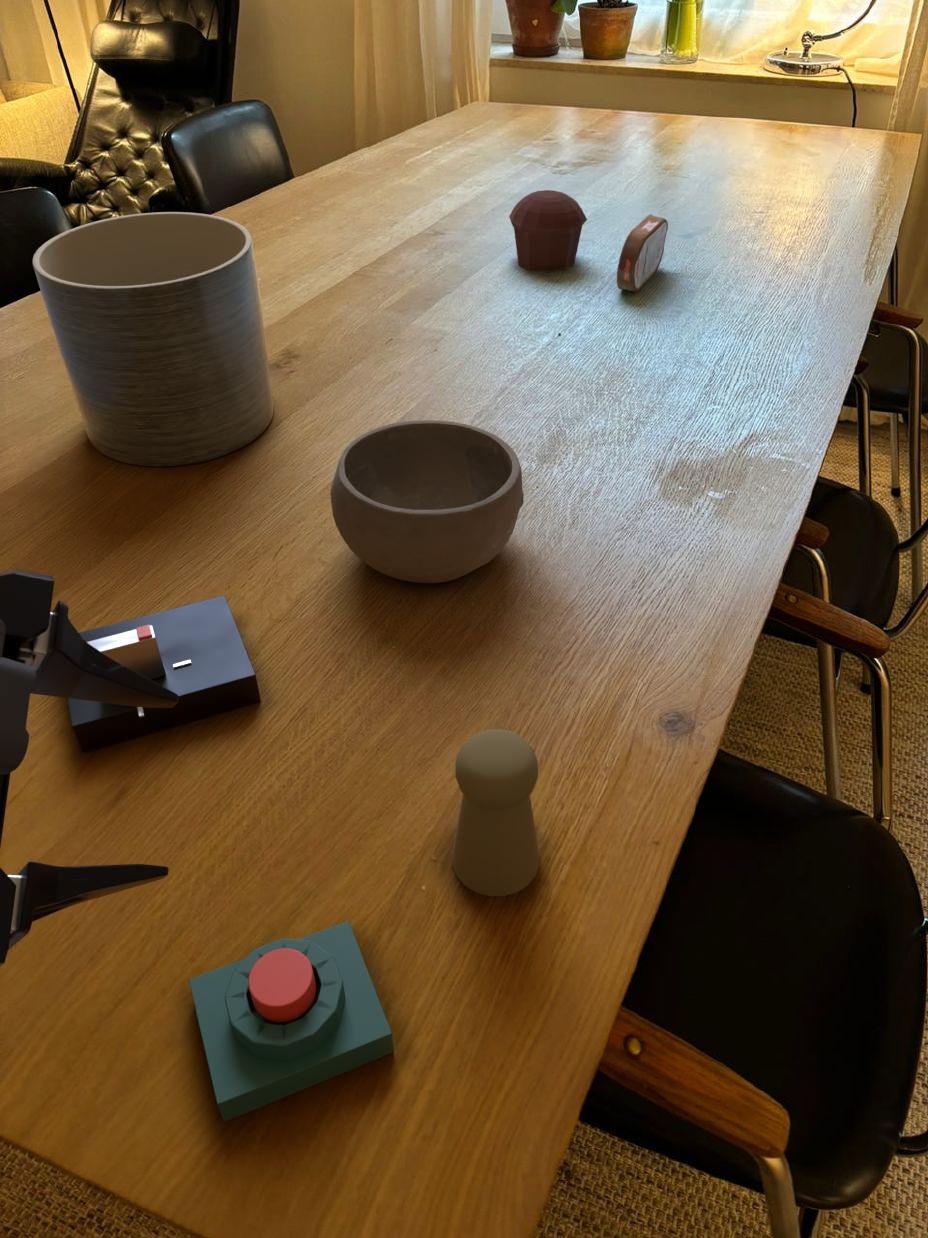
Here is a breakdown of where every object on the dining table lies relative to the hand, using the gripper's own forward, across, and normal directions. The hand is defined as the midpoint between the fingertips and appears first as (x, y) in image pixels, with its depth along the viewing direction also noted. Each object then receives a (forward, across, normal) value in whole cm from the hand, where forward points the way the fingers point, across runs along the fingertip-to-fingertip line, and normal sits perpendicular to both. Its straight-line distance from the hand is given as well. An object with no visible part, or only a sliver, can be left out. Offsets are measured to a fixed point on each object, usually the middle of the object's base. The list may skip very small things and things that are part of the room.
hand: (171, 783), depth 51 cm
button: (+9, -9, +7) cm, 15 cm away
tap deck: (+7, +17, +26) cm, 32 cm away
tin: (+72, +91, +23) cm, 119 cm away
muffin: (+63, +100, +33) cm, 123 cm away
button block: (+11, -11, +10) cm, 18 cm away
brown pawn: (+25, -1, +6) cm, 25 cm away
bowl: (+30, +32, +20) cm, 48 cm away
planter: (+12, +59, +44) cm, 74 cm away
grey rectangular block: (+4, +16, +24) cm, 29 cm away
